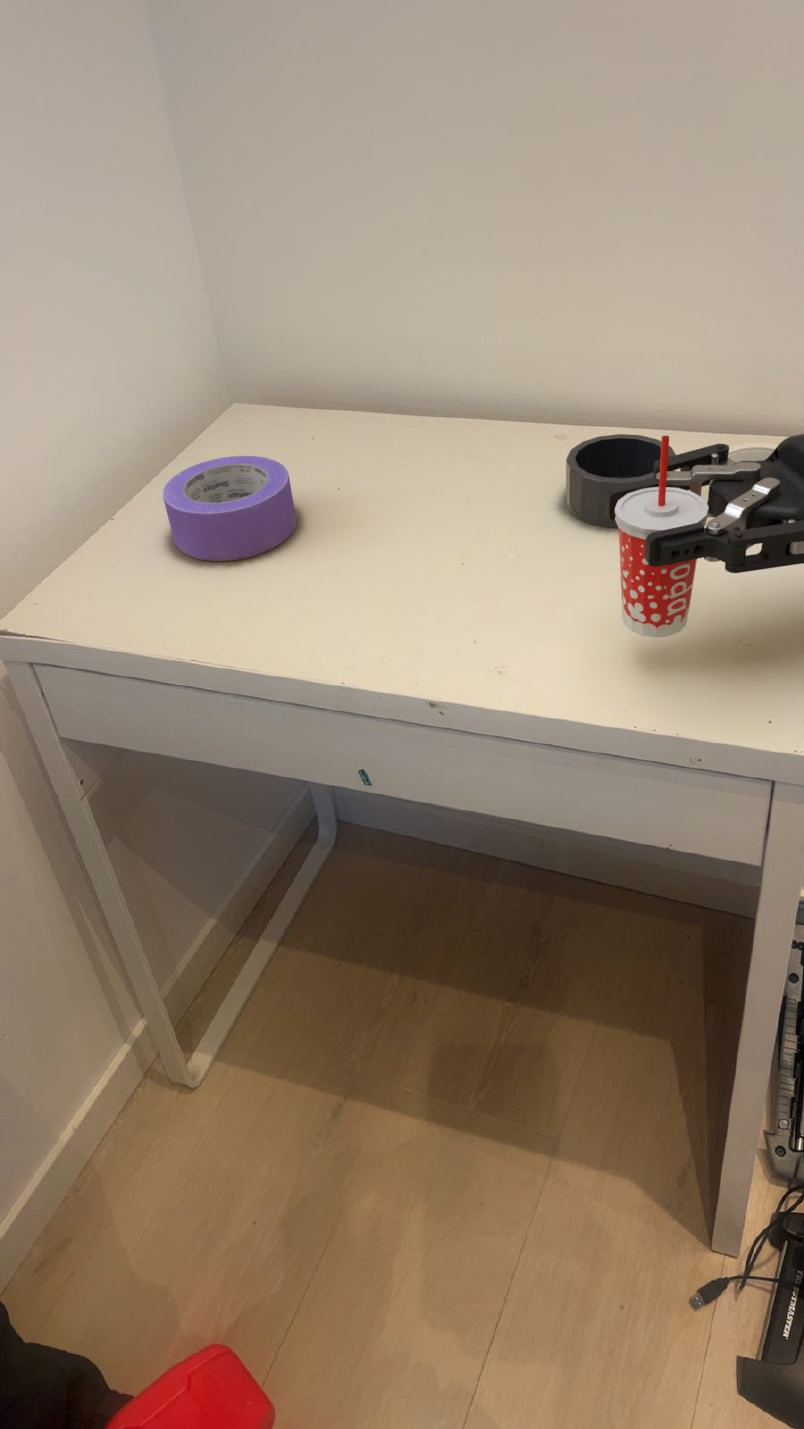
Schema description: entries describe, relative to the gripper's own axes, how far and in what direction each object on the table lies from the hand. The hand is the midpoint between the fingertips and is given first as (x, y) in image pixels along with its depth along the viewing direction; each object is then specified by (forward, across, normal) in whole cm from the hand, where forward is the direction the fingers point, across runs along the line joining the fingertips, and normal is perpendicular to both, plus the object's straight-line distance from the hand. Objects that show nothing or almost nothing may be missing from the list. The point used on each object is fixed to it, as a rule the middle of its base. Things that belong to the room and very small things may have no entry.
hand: (627, 527), depth 70 cm
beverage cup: (-2, 0, +8) cm, 9 cm away
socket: (-9, -23, +11) cm, 28 cm away
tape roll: (+25, -33, +11) cm, 43 cm away
